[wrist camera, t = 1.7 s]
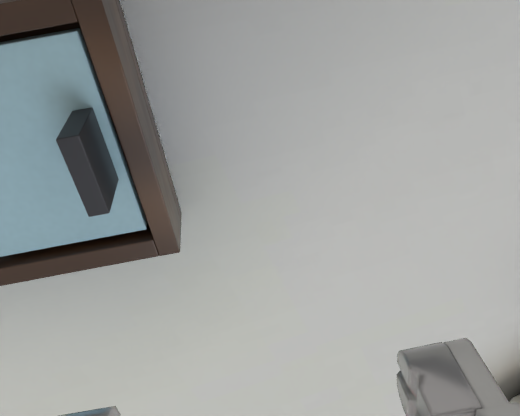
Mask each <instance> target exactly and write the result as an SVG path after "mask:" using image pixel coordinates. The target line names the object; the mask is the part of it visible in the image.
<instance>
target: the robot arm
mask: <svg viewBox="0 0 520 416" xmlns="http://www.w3.org/2000/svg"><path fill="white" fill-rule="evenodd" d="M397 362H398V365H399V367H400V371H399V372H398V374H397V387H398V392H399V397H400V400H401V403H402V406H403V409H404V412H405V414H406V416H520V404H519V403H517V402H514V403H509V401H508V400H507V398H506V397H505V395H504V394H503V392H502V390H501V389H500V387H499V386H498V384H497V382H496V381H495V379H494V378H493V376H492V374H491V373H490V371H489V370H488V368H487V366H486V365H485V363H484V362H483V360H482V358H481V357H480V355H479V354H478V352H477V350H476V349H475V347H474V346H473V344H472V342H471V341H469V340H468V339H467V338H462V339H458V340H453V341H448V342H444V343H442V342H439V343H434V344H430V345H425V346H420V347H415V348H410V349H406V350H401V351H399V352H398V354H397ZM120 415H121V414H120V413H119V411H118V409H117V408H116V406H112V407H106V408H100V409H94V410H89V411H83V412H77V413H71V414H65V415H59V416H120Z"/></svg>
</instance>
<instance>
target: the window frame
mask: <svg viewBox="0 0 520 416" xmlns="http://www.w3.org/2000/svg"><path fill="white" fill-rule="evenodd" d="M76 28H80V30H81V33H82V36H83V39H84V42H85V45H86V47H87V50H88V53H89V56H90V59H91V62H92V65H93V68H94V71H95V73H96V76H97V79H98V82H99V85H100V88H101V91H102V94H103V97H104V99H105V102H106V105H107V108H108V111H109V114H110V117H111V120H112V123H113V125H114V128H115V131H116V134H117V137H118V140H119V143H120V146H121V149H122V151H123V154H124V157H125V160H126V163H127V166H128V169H129V172H130V175H131V177H132V180H133V183H134V186H135V189H136V192H137V195H138V198H139V201H140V203H141V206H142V209H143V212H144V215H145V218H146V221H147V229H146V230H141V231H135V232H130V233H125V234H119V235H114V236H109V237H104V238H98V239H93V240H88V241H82V242H77V243H72V244H66V245H61V246H56V247H50V248H45V249H40V250H34V251H29V252H24V253H18V254H13V255H8V256H3V257H0V286H2V285H7V284H13V283H18V282H23V281H29V280H34V279H39V278H44V277H50V276H55V275H60V274H66V273H71V272H76V271H81V270H87V269H92V268H97V267H103V266H108V265H113V264H119V263H124V262H129V261H134V260H140V259H145V258H150V257H156V256H162V255H167V254H173V253H178V252H180V239H181V210H180V206H179V203H178V200H177V196H176V193H175V189H174V186H173V183H172V179H171V176H170V172H169V169H168V165H167V162H166V159H165V155H164V152H163V148H162V145H161V141H160V138H159V135H158V131H157V128H156V124H155V121H154V118H153V114H152V111H151V107H150V104H149V100H148V97H147V94H146V90H145V87H144V83H143V80H142V76H141V73H140V70H139V66H138V63H137V59H136V56H135V53H134V49H133V46H132V42H131V39H130V35H129V32H128V29H127V25H126V22H125V18H124V15H123V11H122V8H121V5H120V1H119V0H0V42H4V41H10V40H15V39H21V38H26V37H32V36H37V35H43V34H48V33H54V32H59V31H65V30H70V29H76Z"/></svg>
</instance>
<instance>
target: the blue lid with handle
mask: <svg viewBox="0 0 520 416" xmlns="http://www.w3.org/2000/svg"><path fill="white" fill-rule="evenodd" d="M146 229H147V221H146V218H145V215H144V212H143V209H142V206H141V203H140V201H139V198H138V195H137V192H136V189H135V186H134V183H133V180H132V177H131V175H130V172H129V169H128V166H127V163H126V160H125V157H124V154H123V151H122V149H121V146H120V143H119V140H118V137H117V134H116V131H115V128H114V125H113V123H112V120H111V117H110V114H109V111H108V108H107V105H106V102H105V99H104V97H103V94H102V91H101V88H100V85H99V82H98V79H97V76H96V73H95V71H94V68H93V65H92V62H91V59H90V56H89V53H88V50H87V47H86V45H85V42H84V39H83V36H82V33H81V30H80V28H76V29H70V30H65V31H59V32H54V33H48V34H43V35H37V36H32V37H26V38H21V39H15V40H10V41H4V42H0V257H3V256H8V255H13V254H18V253H24V252H29V251H34V250H40V249H45V248H50V247H56V246H61V245H66V244H72V243H77V242H82V241H88V240H93V239H98V238H104V237H109V236H114V235H119V234H125V233H130V232H135V231H141V230H146Z"/></svg>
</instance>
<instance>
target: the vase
mask: <svg viewBox="0 0 520 416" xmlns="http://www.w3.org/2000/svg"><path fill="white" fill-rule="evenodd" d="M514 402H517V403H519V404H520V394H519V395H517V396H515V397H513V398H511V400H510V402H509V403H514Z"/></svg>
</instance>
